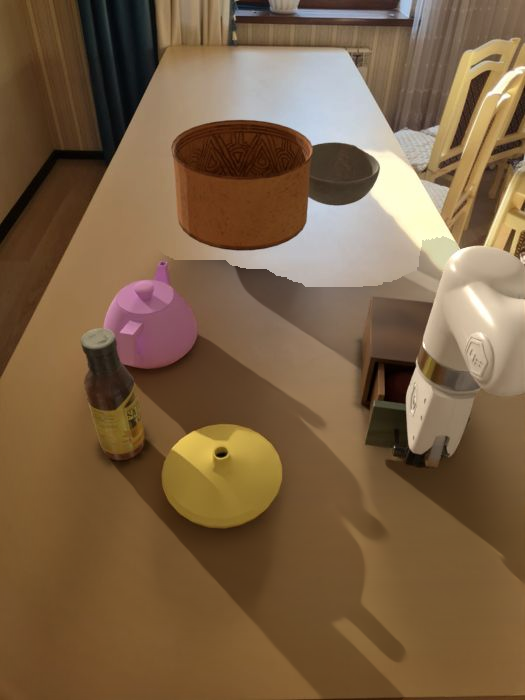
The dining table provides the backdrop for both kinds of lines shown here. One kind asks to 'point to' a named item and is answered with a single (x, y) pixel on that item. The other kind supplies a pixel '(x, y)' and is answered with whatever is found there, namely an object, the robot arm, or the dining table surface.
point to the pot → (242, 183)
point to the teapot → (151, 322)
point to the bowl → (341, 173)
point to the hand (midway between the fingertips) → (417, 461)
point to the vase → (222, 475)
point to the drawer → (388, 413)
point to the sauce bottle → (112, 397)
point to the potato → (397, 387)
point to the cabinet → (391, 335)
